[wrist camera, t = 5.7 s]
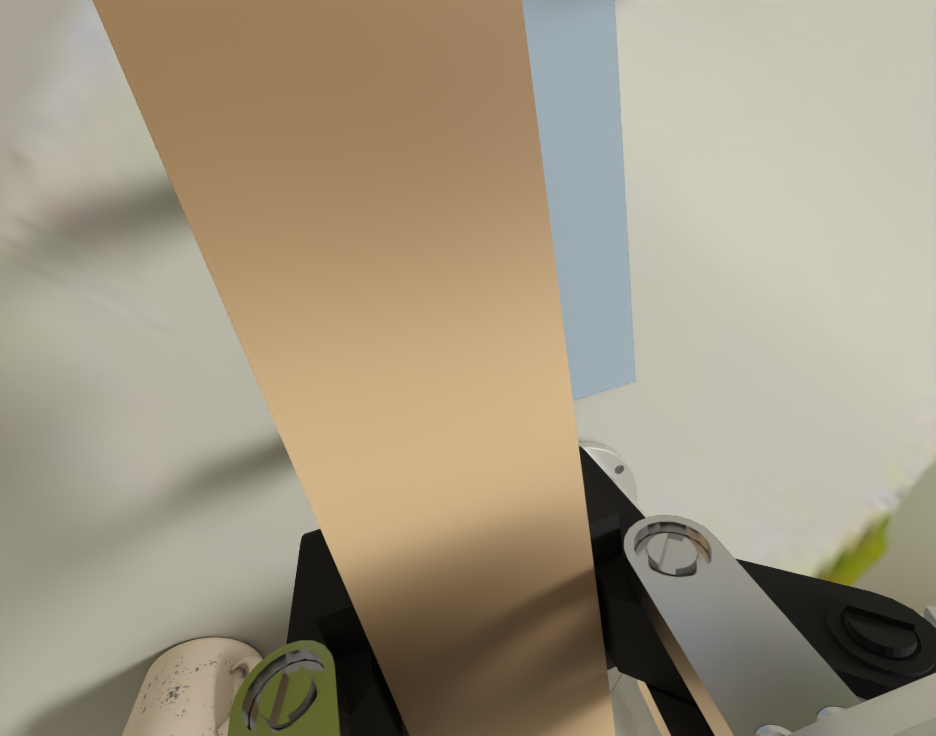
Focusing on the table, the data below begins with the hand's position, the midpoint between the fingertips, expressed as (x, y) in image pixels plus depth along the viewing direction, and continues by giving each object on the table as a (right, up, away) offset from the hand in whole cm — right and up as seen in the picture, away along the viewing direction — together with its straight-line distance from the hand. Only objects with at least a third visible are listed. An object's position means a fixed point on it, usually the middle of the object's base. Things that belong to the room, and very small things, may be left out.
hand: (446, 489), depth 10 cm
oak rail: (+1, -1, -3) cm, 3 cm away
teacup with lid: (-19, -21, +27) cm, 39 cm away
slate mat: (+6, +13, +20) cm, 24 cm away
